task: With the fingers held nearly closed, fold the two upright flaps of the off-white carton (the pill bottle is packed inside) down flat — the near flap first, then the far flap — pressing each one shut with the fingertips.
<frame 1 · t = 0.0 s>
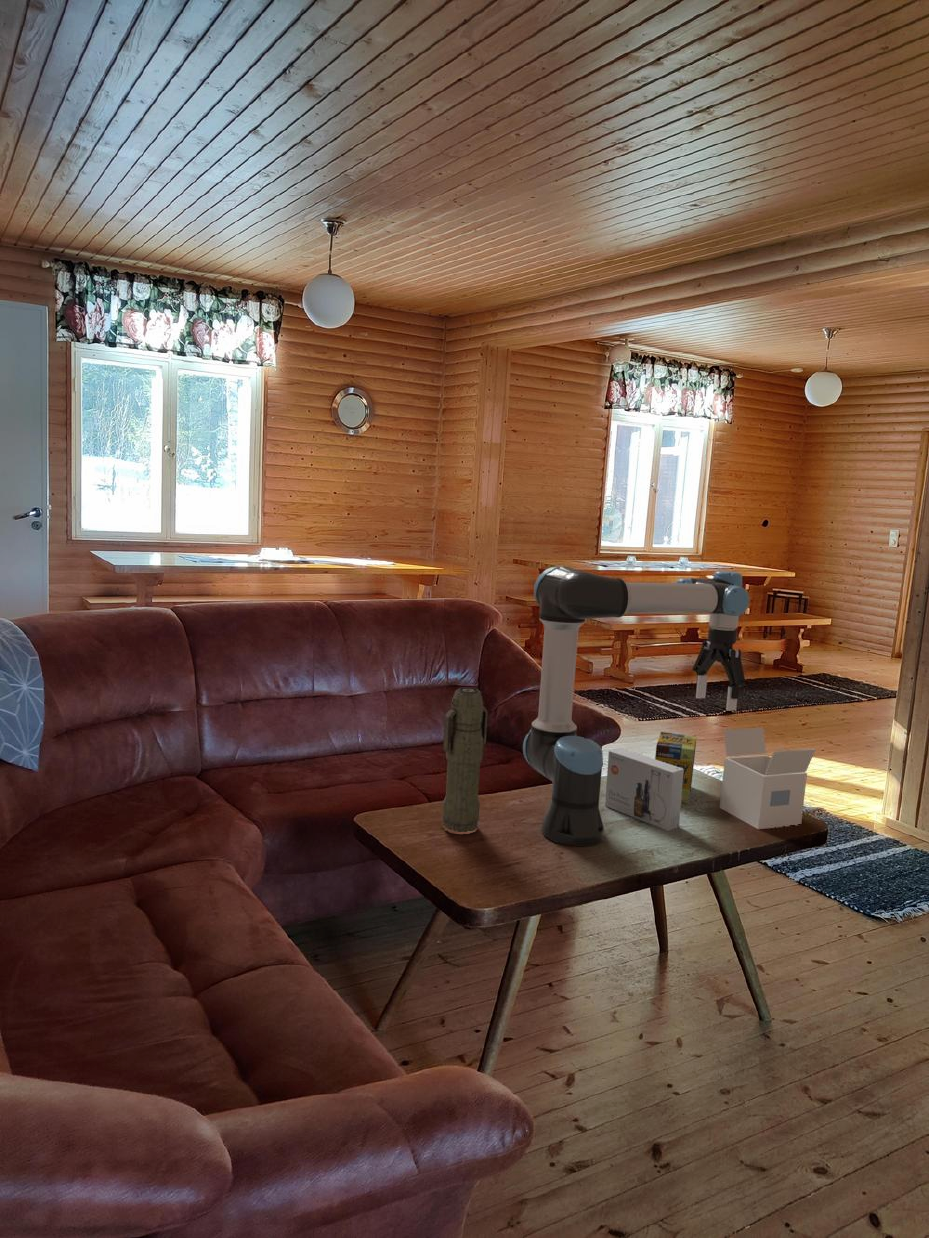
hand: (715, 704, 247), 28 cm above the table, fingers open, 13 cm apart
skincare box: (640, 817, 236), on the table
near flap: (790, 761, 230), point 18 cm above the table, hinge at 110.0°
far flap: (744, 741, 247), point 18 cm above the table, hinge at 110.0°
thermos: (459, 829, 220), on the table
pill bottle: (759, 816, 241), resting in carton
carton: (759, 816, 241), on the table
protein box: (671, 793, 257), on the table
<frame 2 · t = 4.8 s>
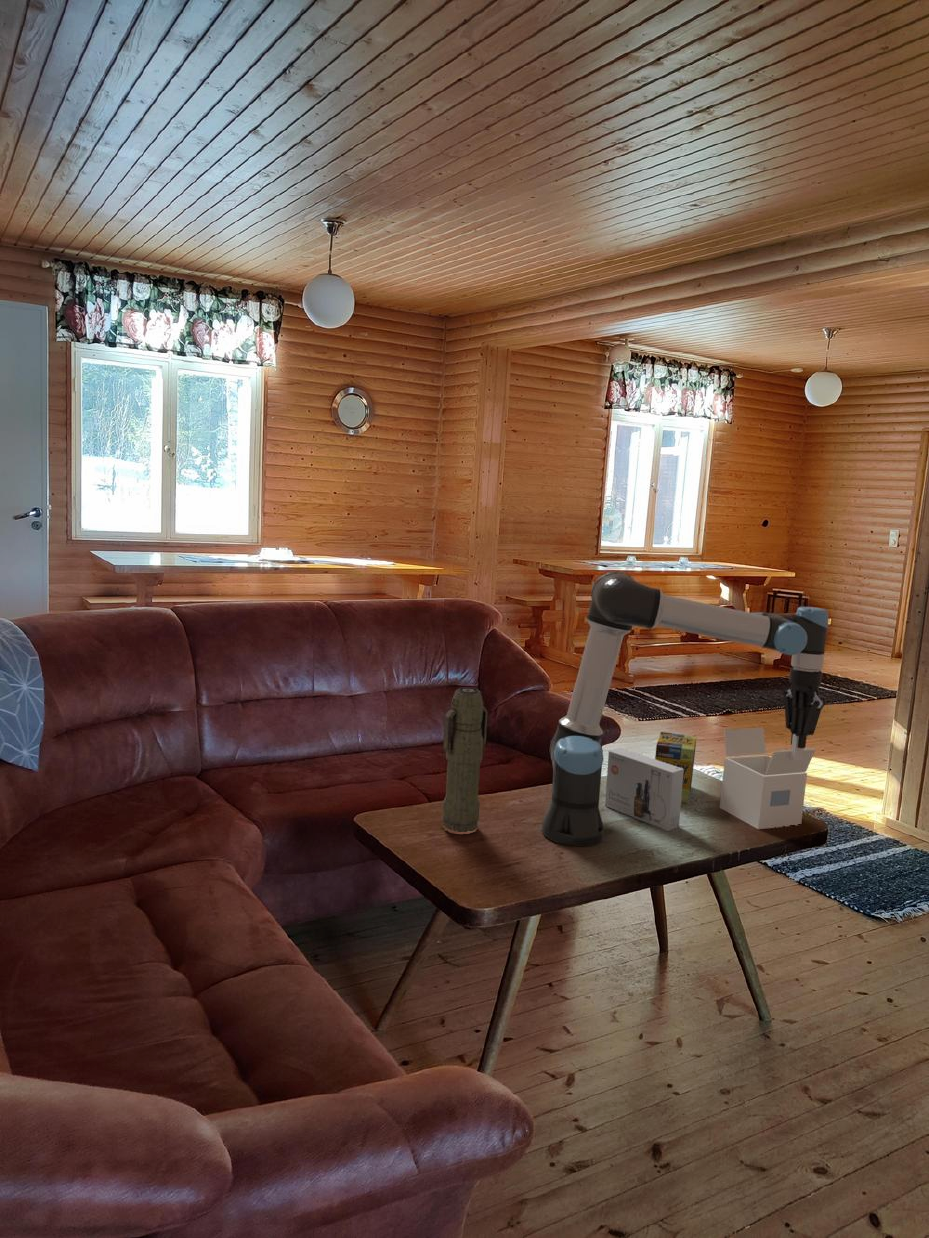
hand: (796, 759, 228), 19 cm above the table, fingers closed
near flap: (790, 761, 231), point 18 cm above the table, hinge at 109.7°, touching gripper
everything else where it was.
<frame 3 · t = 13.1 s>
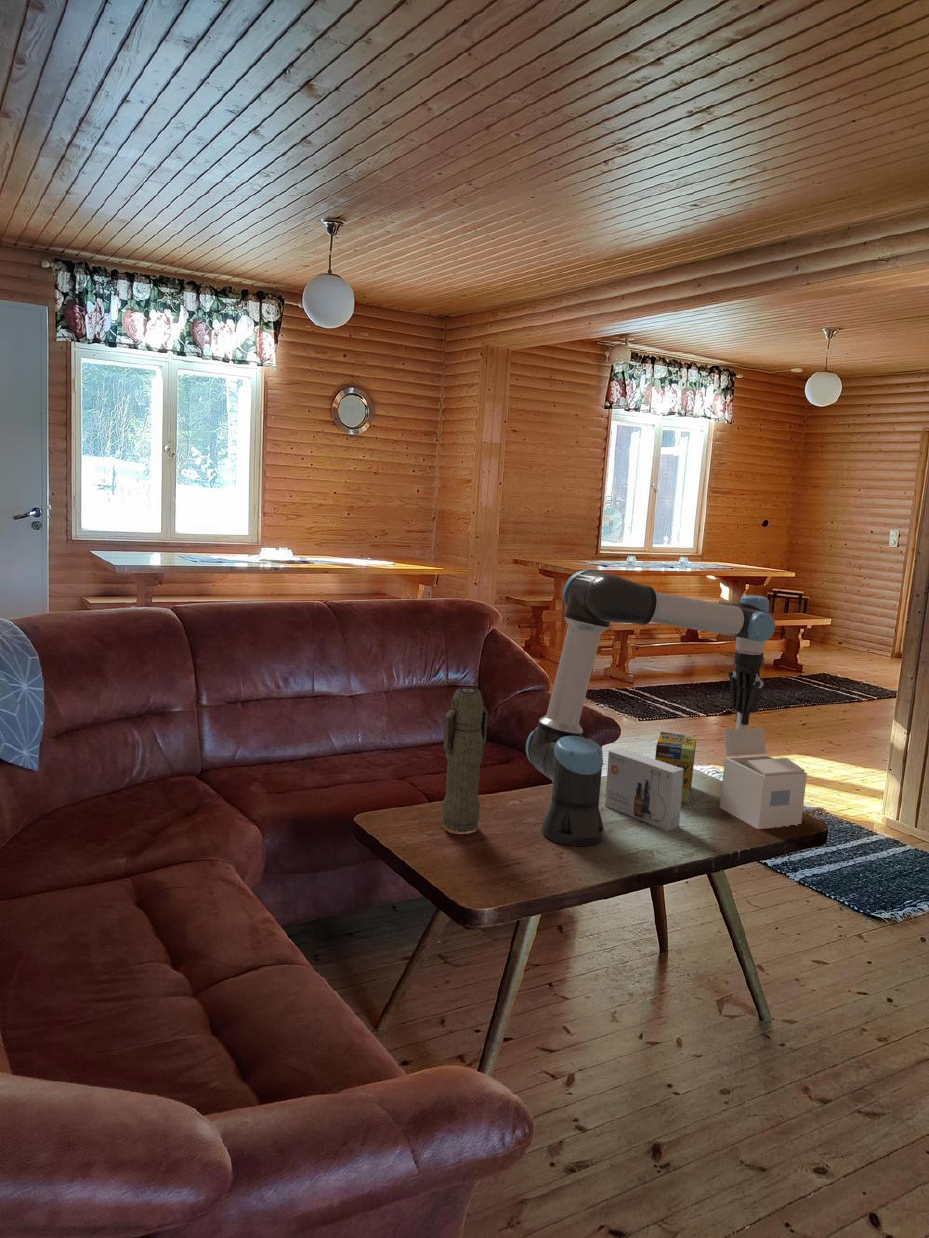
hand: (740, 734, 249), 19 cm above the table, fingers closed
near flap: (775, 766, 235), point 15 cm above the table, hinge at 9.6°
far flap: (744, 741, 247), point 18 cm above the table, hinge at 109.6°, touching gripper
everything else where it was.
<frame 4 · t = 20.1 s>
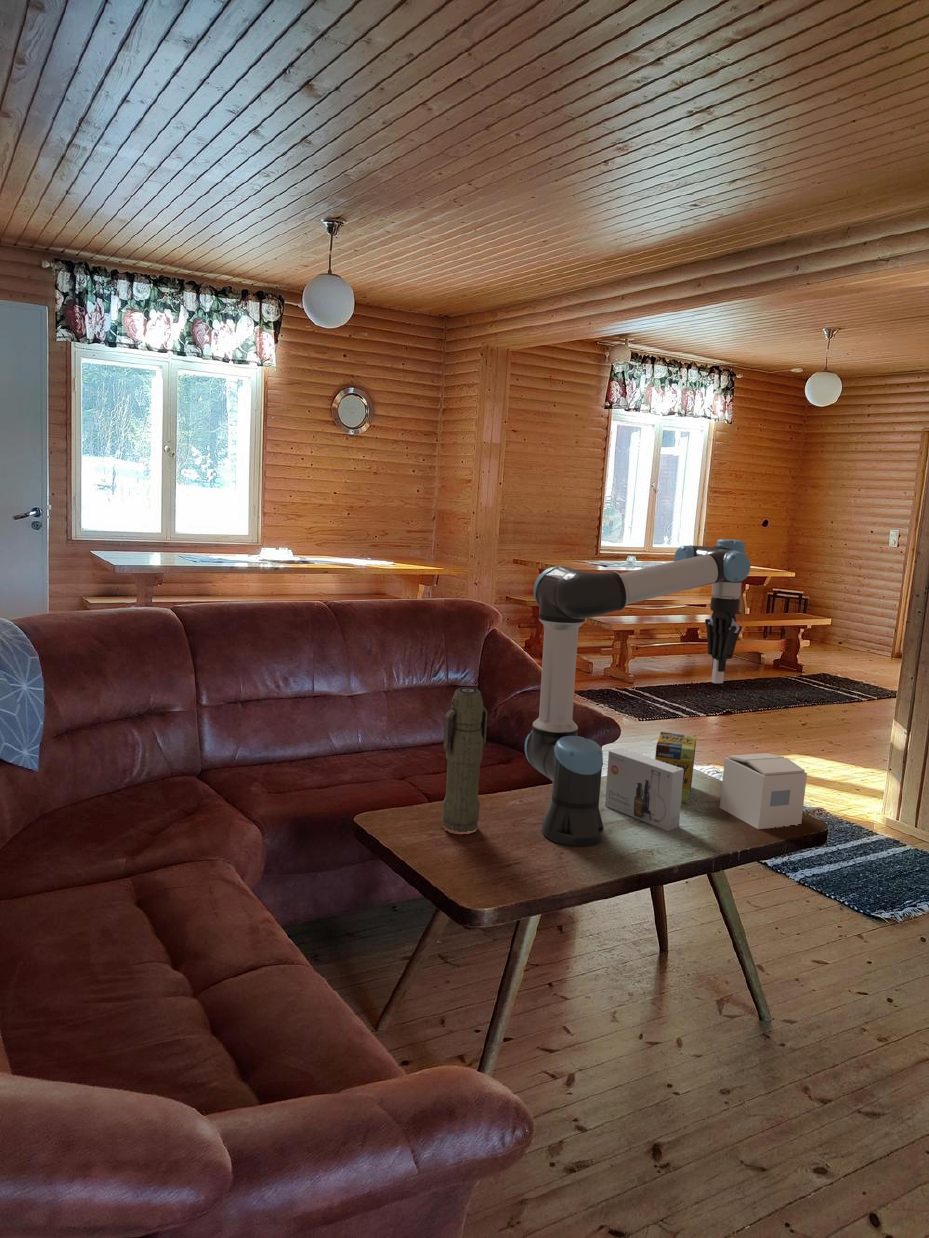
hand: (717, 682, 244), 34 cm above the table, fingers closed
far flap: (755, 757, 243), point 15 cm above the table, hinge at 8.6°
everything else where it was.
at the end: near flap at +10° (first picture: +110°); far flap at +9° (first picture: +110°) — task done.
